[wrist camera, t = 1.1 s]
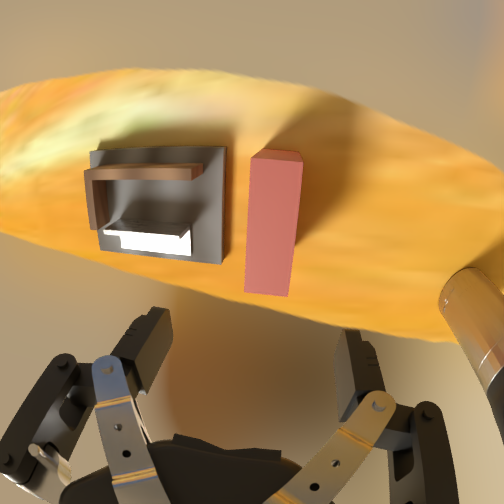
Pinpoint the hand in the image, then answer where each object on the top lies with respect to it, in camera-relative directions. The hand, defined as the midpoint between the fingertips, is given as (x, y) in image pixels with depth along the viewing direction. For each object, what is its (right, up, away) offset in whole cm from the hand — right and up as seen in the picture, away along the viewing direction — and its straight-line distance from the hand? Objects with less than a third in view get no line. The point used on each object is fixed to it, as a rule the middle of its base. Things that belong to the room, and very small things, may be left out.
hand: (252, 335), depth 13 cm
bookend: (-12, +6, +22) cm, 26 cm away
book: (+3, +10, +20) cm, 22 cm away
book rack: (-12, +10, +21) cm, 27 cm away
